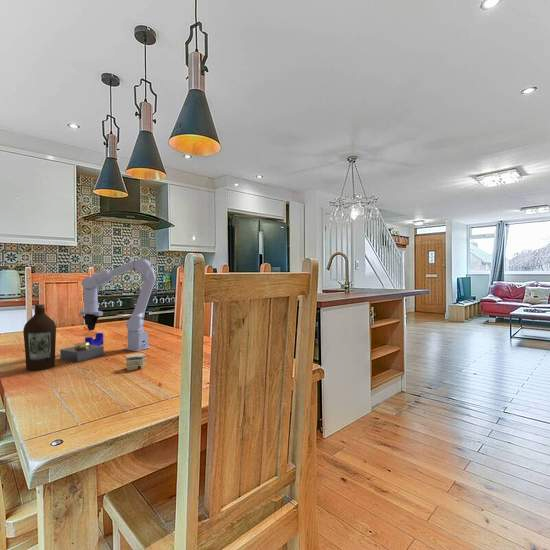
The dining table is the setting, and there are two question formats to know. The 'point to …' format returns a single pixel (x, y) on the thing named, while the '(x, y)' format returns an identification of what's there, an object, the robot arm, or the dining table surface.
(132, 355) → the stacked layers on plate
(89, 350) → the block
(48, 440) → the dining table surface
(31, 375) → the dining table surface
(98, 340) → the blue angular block
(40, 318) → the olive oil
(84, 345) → the brass pin
